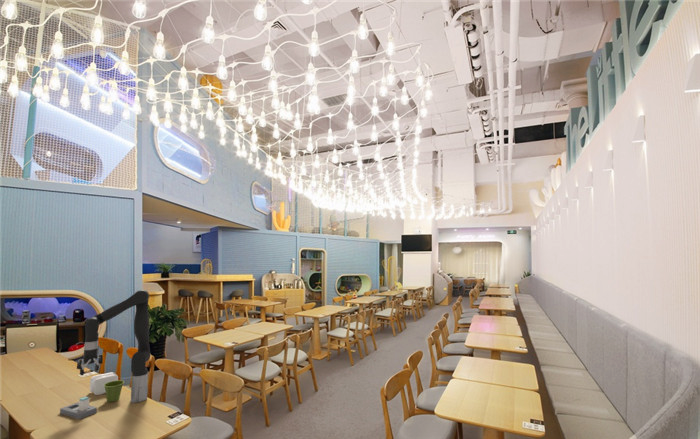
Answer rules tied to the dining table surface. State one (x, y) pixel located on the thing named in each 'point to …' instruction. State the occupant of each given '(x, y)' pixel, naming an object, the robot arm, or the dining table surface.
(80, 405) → the plug peg
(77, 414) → the socket board
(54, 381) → the dining table surface
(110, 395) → the plant pot
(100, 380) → the cable organizer
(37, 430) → the dining table surface
